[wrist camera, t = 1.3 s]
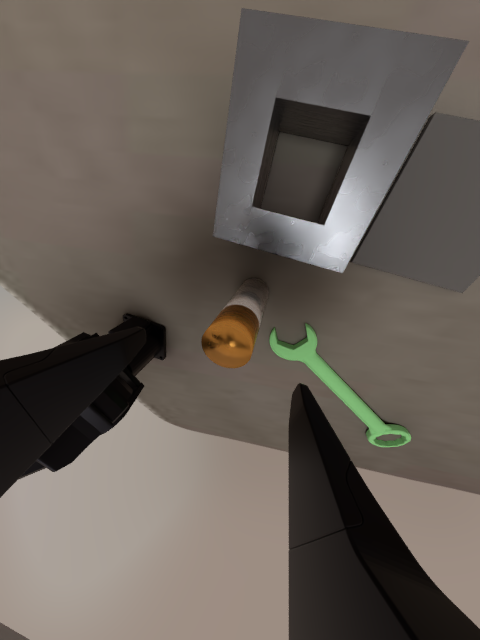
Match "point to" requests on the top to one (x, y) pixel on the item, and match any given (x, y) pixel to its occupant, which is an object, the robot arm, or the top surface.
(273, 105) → the block
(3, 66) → the top surface
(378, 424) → the wrench
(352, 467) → the robot arm
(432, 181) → the rubber mat
